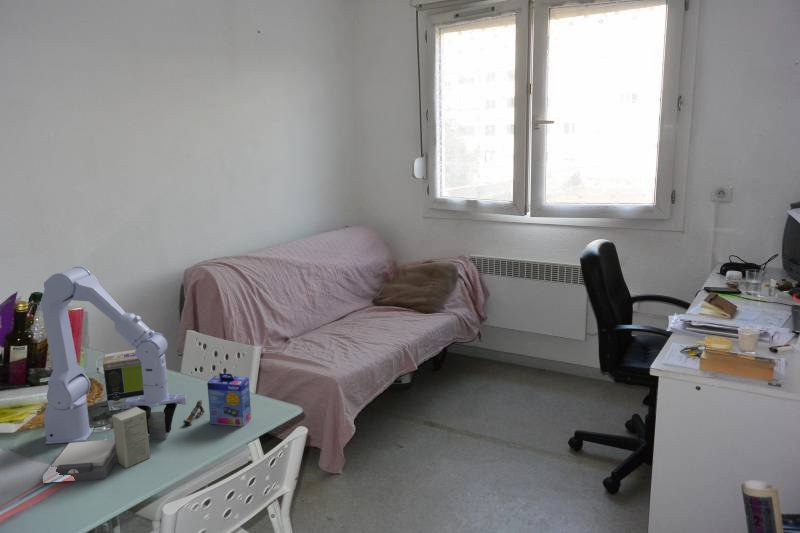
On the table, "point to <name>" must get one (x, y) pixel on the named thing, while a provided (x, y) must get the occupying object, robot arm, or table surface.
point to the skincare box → (131, 436)
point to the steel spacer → (157, 426)
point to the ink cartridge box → (229, 400)
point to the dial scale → (86, 459)
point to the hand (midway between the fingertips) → (159, 431)
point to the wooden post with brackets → (198, 406)
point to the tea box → (122, 377)
